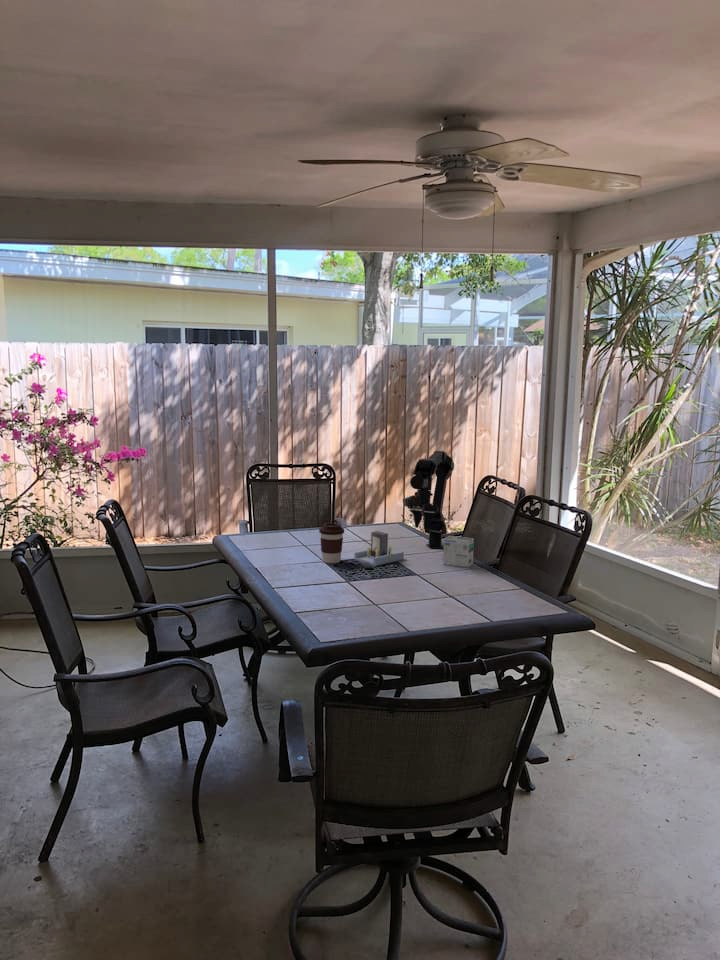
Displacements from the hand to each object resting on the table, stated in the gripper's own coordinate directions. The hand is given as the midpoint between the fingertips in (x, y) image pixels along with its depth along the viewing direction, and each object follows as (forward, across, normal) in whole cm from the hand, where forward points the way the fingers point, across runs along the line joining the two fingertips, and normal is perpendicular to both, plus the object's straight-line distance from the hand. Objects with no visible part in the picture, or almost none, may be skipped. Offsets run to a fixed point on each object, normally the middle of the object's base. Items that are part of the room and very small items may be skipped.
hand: (420, 528), depth 310 cm
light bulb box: (+13, +12, +12) cm, 21 cm away
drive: (+13, -2, -16) cm, 21 cm away
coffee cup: (+16, -4, -35) cm, 39 cm away
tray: (+14, -3, -16) cm, 21 cm away
